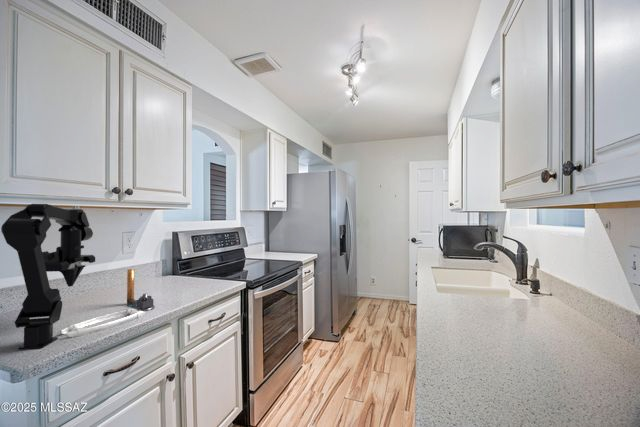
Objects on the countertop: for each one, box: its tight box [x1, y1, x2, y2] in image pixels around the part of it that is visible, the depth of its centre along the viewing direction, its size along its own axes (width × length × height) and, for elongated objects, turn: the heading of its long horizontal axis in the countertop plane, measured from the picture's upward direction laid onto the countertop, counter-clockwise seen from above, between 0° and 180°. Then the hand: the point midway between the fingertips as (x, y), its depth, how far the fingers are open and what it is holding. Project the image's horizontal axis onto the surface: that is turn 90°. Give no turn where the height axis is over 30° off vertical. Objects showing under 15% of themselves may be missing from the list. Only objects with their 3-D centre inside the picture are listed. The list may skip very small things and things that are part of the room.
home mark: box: [126, 304, 137, 308], centre depth 125 cm, size 3×3×1 cm
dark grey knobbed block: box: [134, 293, 156, 312], centre depth 121 cm, size 7×7×6 cm
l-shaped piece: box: [126, 268, 154, 309], centre depth 123 cm, size 15×4×15 cm, turn 61°
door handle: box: [59, 307, 146, 338], centre depth 104 cm, size 3×10×25 cm
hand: (70, 286), depth 105 cm, fingers closed
